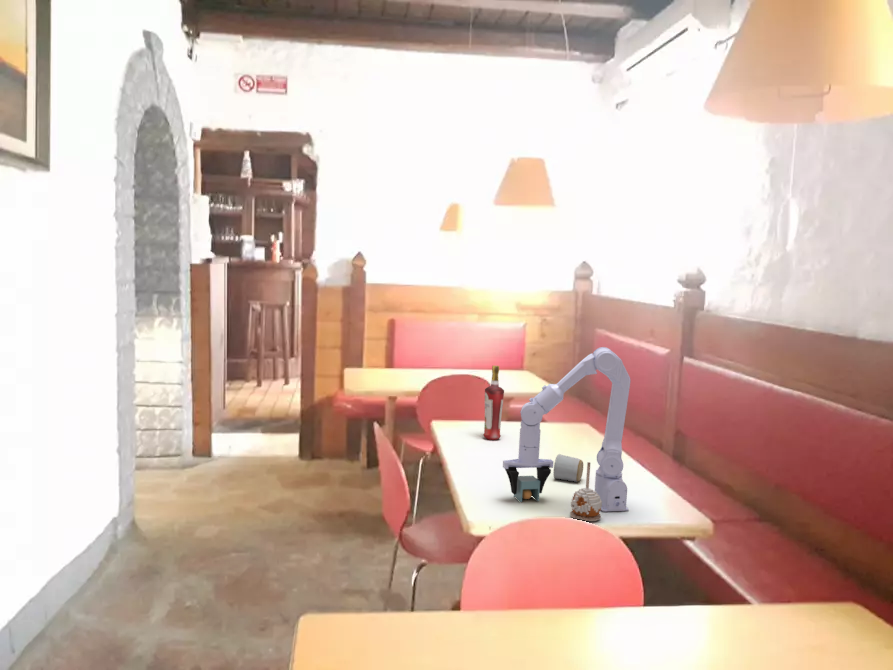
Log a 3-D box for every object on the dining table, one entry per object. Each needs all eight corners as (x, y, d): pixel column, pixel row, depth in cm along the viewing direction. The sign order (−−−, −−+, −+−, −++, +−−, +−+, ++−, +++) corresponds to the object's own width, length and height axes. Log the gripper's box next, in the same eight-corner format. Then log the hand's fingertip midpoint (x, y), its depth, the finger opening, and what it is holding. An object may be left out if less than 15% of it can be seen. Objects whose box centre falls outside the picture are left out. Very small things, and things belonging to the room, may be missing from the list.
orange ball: (533, 500, 211) (533, 490, 211) (523, 501, 210) (523, 490, 210) (529, 497, 214) (529, 487, 214) (519, 497, 213) (519, 487, 213)
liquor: (479, 436, 288) (483, 364, 286) (497, 436, 291) (501, 364, 288) (486, 441, 281) (490, 367, 279) (504, 440, 284) (508, 367, 281)
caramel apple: (564, 514, 201) (568, 459, 199) (590, 512, 203) (593, 458, 202) (580, 524, 193) (584, 467, 192) (606, 521, 196) (609, 465, 195)
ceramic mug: (578, 485, 229) (580, 460, 229) (552, 481, 232) (553, 456, 232) (585, 477, 239) (586, 453, 238) (559, 473, 242) (561, 450, 241)
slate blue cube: (538, 502, 210) (540, 481, 210) (520, 502, 209) (521, 481, 208) (531, 496, 215) (532, 475, 215) (513, 496, 214) (514, 476, 213)
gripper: (547, 441, 216) (544, 487, 218) (500, 442, 212) (497, 489, 214) (557, 447, 210) (554, 495, 211) (508, 448, 206) (506, 496, 207)
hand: (526, 492), depth 212 cm, fingers open, 7 cm apart
